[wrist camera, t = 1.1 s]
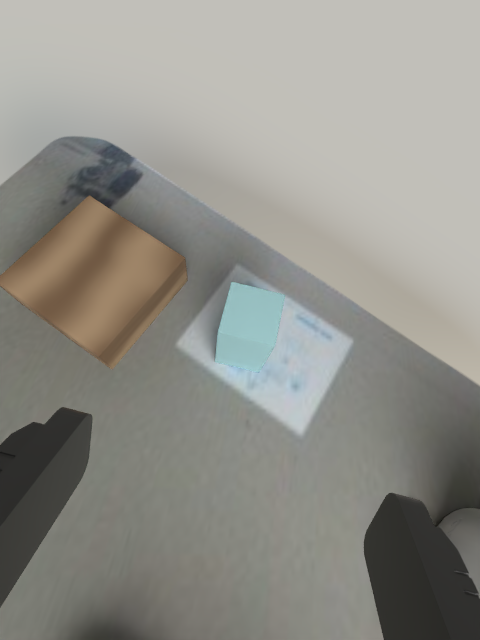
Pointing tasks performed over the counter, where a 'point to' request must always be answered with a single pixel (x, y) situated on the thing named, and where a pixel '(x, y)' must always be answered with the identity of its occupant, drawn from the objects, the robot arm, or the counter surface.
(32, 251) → the walnut block
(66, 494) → the robot arm
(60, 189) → the counter surface
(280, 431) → the counter surface
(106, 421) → the counter surface
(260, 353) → the teal block
